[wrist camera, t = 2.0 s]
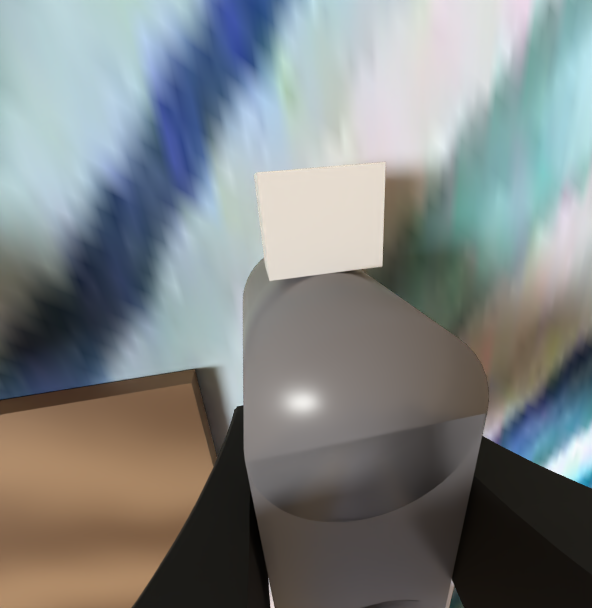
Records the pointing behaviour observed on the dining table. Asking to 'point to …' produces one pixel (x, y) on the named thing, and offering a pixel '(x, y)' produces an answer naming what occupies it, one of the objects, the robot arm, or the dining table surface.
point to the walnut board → (97, 488)
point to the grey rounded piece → (351, 405)
